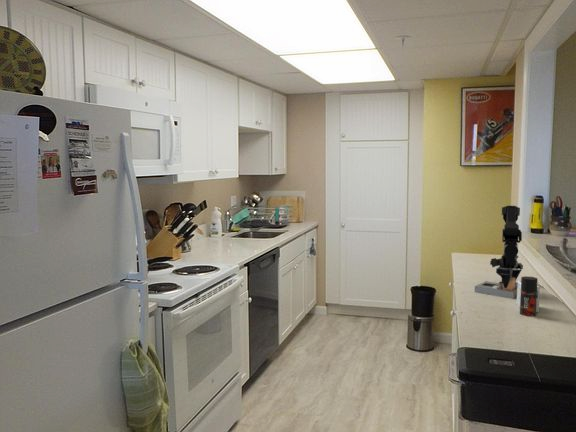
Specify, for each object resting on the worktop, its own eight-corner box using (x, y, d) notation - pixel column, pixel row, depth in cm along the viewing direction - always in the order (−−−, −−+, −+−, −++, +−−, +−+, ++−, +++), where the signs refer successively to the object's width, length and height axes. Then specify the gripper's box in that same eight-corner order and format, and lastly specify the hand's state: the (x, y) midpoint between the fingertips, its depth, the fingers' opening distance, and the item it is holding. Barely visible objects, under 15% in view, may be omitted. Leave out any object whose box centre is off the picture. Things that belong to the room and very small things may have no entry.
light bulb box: (539, 312, 212) (540, 286, 211) (521, 311, 213) (522, 286, 212) (532, 305, 222) (533, 281, 221) (515, 304, 223) (516, 280, 222)
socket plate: (485, 287, 256) (486, 279, 256) (523, 293, 244) (523, 285, 244) (474, 292, 246) (474, 284, 246) (513, 298, 234) (513, 290, 233)
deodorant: (535, 313, 211) (536, 277, 209) (536, 317, 205) (538, 280, 204) (519, 311, 213) (521, 276, 211) (520, 315, 207) (521, 278, 206)
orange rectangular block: (505, 292, 245) (506, 276, 244) (514, 294, 242) (515, 277, 242) (502, 294, 242) (503, 277, 241) (511, 295, 239) (512, 278, 238)
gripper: (500, 249, 252) (498, 280, 254) (485, 254, 239) (484, 287, 240) (523, 251, 245) (522, 283, 247) (510, 256, 231) (508, 290, 233)
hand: (509, 286), depth 242 cm, fingers open, 9 cm apart
